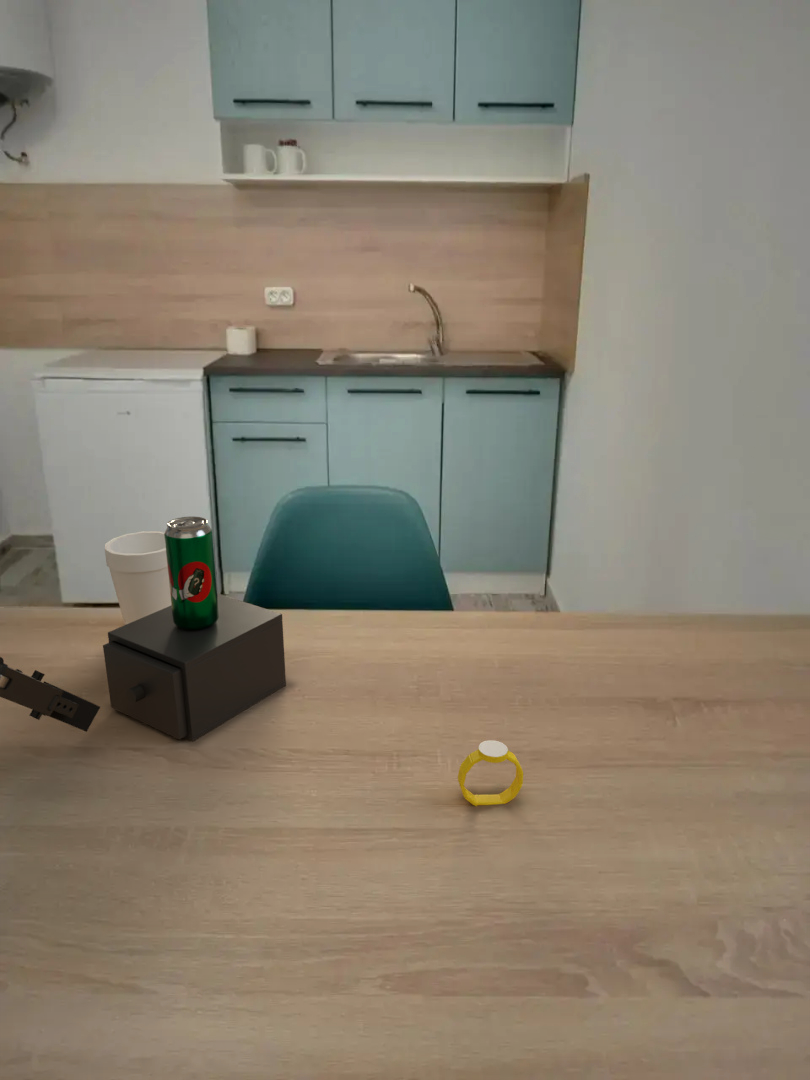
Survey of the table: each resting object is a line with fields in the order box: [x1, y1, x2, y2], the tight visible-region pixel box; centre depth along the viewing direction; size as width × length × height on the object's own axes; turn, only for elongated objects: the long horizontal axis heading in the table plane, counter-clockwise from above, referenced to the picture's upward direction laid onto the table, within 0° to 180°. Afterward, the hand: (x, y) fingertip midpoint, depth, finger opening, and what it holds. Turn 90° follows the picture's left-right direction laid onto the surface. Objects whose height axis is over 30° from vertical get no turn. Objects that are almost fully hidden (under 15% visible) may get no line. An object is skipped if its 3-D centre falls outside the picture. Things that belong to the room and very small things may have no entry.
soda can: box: [164, 516, 219, 631], centre depth 92 cm, size 5×5×12 cm
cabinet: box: [107, 592, 287, 743], centre depth 95 cm, size 15×13×10 cm
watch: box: [457, 739, 524, 807], centre depth 78 cm, size 6×3×6 cm, turn 98°
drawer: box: [102, 641, 188, 740], centre depth 94 cm, size 15×11×8 cm
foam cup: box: [104, 530, 171, 625], centre depth 111 cm, size 10×9×13 cm
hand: (88, 716), depth 84 cm, fingers closed
